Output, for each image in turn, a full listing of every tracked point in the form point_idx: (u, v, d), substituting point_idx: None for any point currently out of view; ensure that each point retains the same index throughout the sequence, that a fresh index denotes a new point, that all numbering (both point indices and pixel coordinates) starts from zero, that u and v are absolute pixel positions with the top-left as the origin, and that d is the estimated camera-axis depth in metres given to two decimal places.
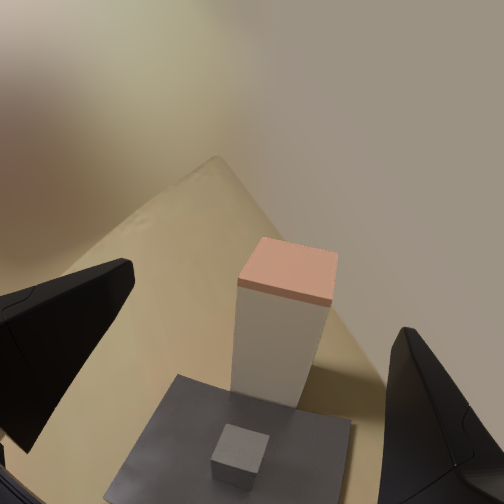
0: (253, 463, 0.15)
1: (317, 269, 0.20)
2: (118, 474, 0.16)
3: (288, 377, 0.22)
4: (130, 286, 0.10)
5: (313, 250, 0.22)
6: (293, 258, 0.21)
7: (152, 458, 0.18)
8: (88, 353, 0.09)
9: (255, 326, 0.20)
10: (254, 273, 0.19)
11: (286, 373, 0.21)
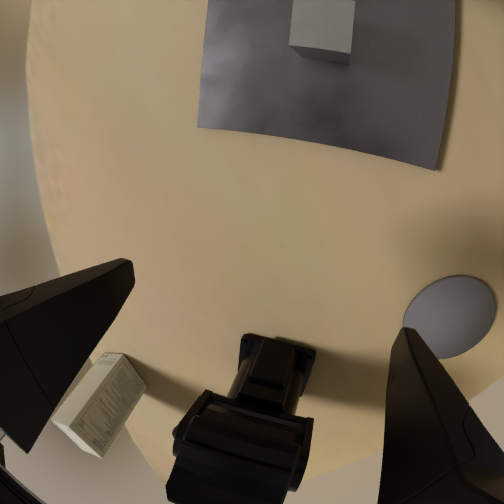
0: (343, 40, 0.11)
1: None
2: (201, 91, 0.18)
3: None
4: (130, 286, 0.10)
5: None
6: None
7: (227, 55, 0.16)
8: (89, 353, 0.09)
9: None
10: None
11: None
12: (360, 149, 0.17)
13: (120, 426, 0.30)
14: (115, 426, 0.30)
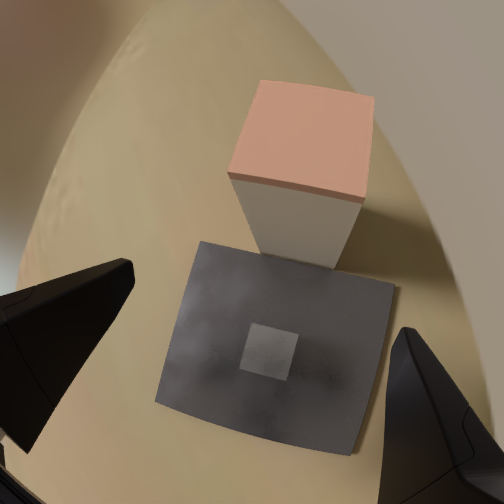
0: (282, 369, 0.17)
1: (345, 135, 0.12)
2: (163, 374, 0.22)
3: (320, 249, 0.19)
4: (130, 286, 0.10)
5: (337, 95, 0.13)
6: (307, 117, 0.13)
7: (190, 350, 0.22)
8: (88, 353, 0.09)
9: (268, 211, 0.16)
10: (250, 158, 0.13)
11: (317, 246, 0.19)
12: (287, 442, 0.19)
13: None
14: None
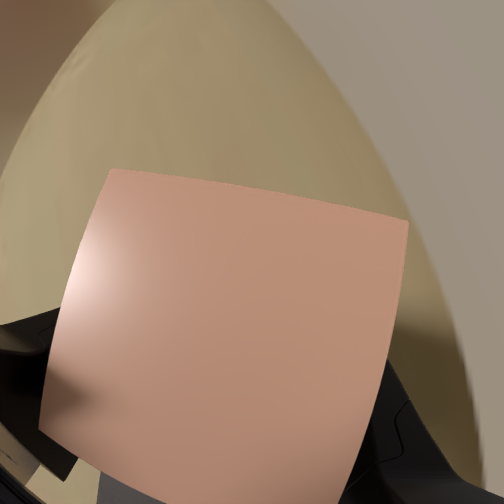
0: None
1: (299, 383, 0.04)
2: (98, 498, 0.14)
3: None
4: None
5: (297, 219, 0.05)
6: (197, 310, 0.05)
7: (123, 484, 0.14)
8: None
9: None
10: (70, 414, 0.04)
11: None
12: None
13: None
14: None
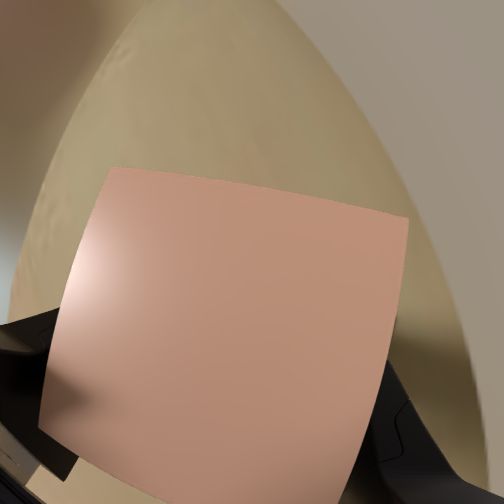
0: None
1: (299, 381, 0.04)
2: None
3: None
4: None
5: (298, 217, 0.05)
6: (197, 308, 0.05)
7: None
8: None
9: None
10: (69, 412, 0.04)
11: None
12: None
13: None
14: None
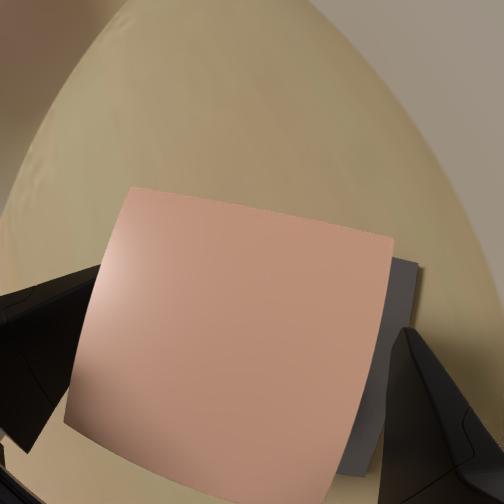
0: None
1: (298, 376, 0.05)
2: None
3: None
4: None
5: (297, 237, 0.06)
6: (211, 315, 0.06)
7: None
8: None
9: None
10: (95, 407, 0.05)
11: None
12: None
13: None
14: None
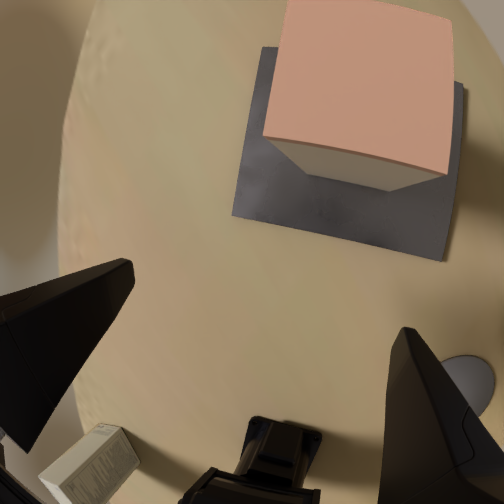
0: None
1: (419, 77, 0.07)
2: (238, 182, 0.22)
3: (377, 182, 0.15)
4: (130, 286, 0.10)
5: (401, 14, 0.07)
6: (365, 48, 0.08)
7: (266, 151, 0.21)
8: (89, 353, 0.09)
9: (317, 159, 0.12)
10: (292, 113, 0.09)
11: (374, 180, 0.15)
12: (378, 244, 0.20)
13: (110, 495, 0.24)
14: (105, 494, 0.23)
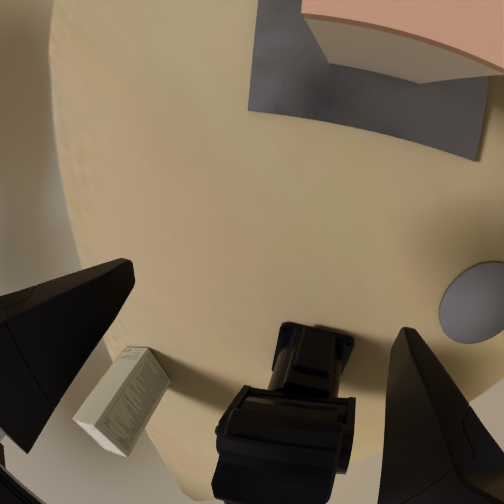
0: None
1: None
2: (252, 75, 0.17)
3: (413, 73, 0.11)
4: (130, 286, 0.10)
5: None
6: None
7: (281, 40, 0.16)
8: (88, 353, 0.09)
9: (356, 44, 0.08)
10: None
11: (410, 71, 0.11)
12: (409, 138, 0.17)
13: (145, 423, 0.30)
14: (140, 423, 0.30)
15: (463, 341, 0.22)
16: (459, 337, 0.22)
